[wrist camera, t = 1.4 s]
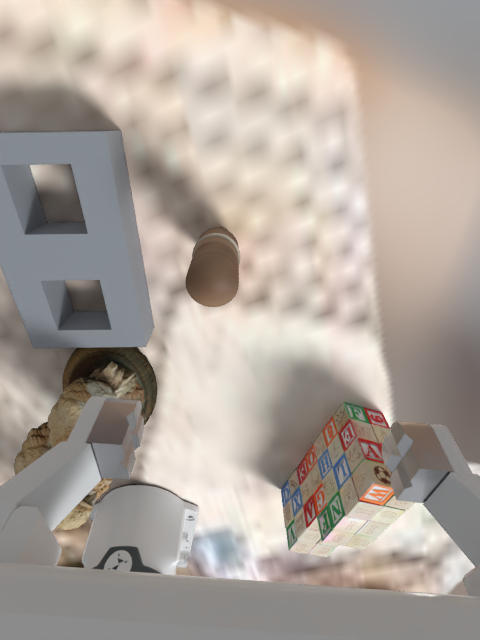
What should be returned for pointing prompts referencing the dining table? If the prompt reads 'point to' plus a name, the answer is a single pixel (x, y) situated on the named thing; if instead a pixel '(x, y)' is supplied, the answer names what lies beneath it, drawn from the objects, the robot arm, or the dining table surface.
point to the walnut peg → (214, 268)
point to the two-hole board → (73, 242)
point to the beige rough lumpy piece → (78, 387)
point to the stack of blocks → (342, 486)
